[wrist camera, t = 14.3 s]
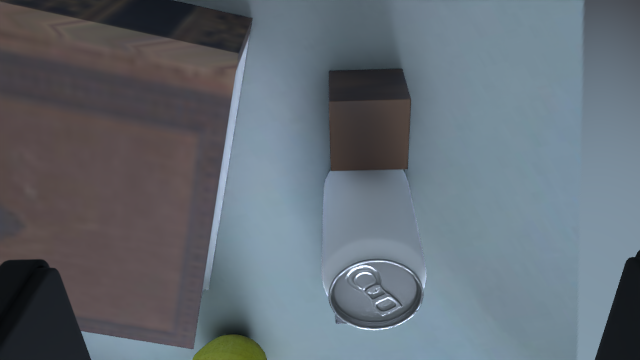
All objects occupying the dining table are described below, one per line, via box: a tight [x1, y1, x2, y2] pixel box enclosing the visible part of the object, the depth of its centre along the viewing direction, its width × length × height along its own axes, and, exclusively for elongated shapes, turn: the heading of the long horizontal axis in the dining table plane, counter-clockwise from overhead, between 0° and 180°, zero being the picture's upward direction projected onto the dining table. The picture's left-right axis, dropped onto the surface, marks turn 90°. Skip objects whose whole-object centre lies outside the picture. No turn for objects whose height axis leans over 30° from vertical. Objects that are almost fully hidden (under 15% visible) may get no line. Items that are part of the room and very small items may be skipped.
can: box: [322, 169, 426, 330], centre depth 39 cm, size 6×6×12 cm
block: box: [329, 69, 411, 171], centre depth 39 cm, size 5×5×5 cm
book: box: [0, 0, 252, 349], centre depth 40 cm, size 24×28×6 cm
